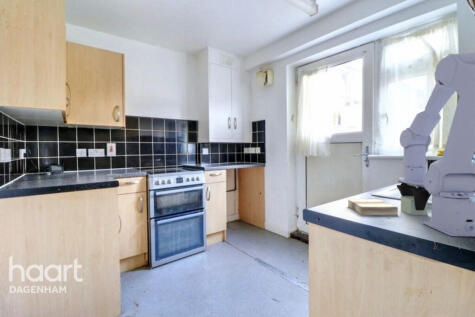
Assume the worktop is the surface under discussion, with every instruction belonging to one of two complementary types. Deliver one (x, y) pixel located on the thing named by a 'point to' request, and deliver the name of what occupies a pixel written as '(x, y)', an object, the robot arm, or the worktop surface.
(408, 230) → the worktop surface
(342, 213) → the worktop surface
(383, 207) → the birch block
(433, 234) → the worktop surface
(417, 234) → the worktop surface
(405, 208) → the sage cube
